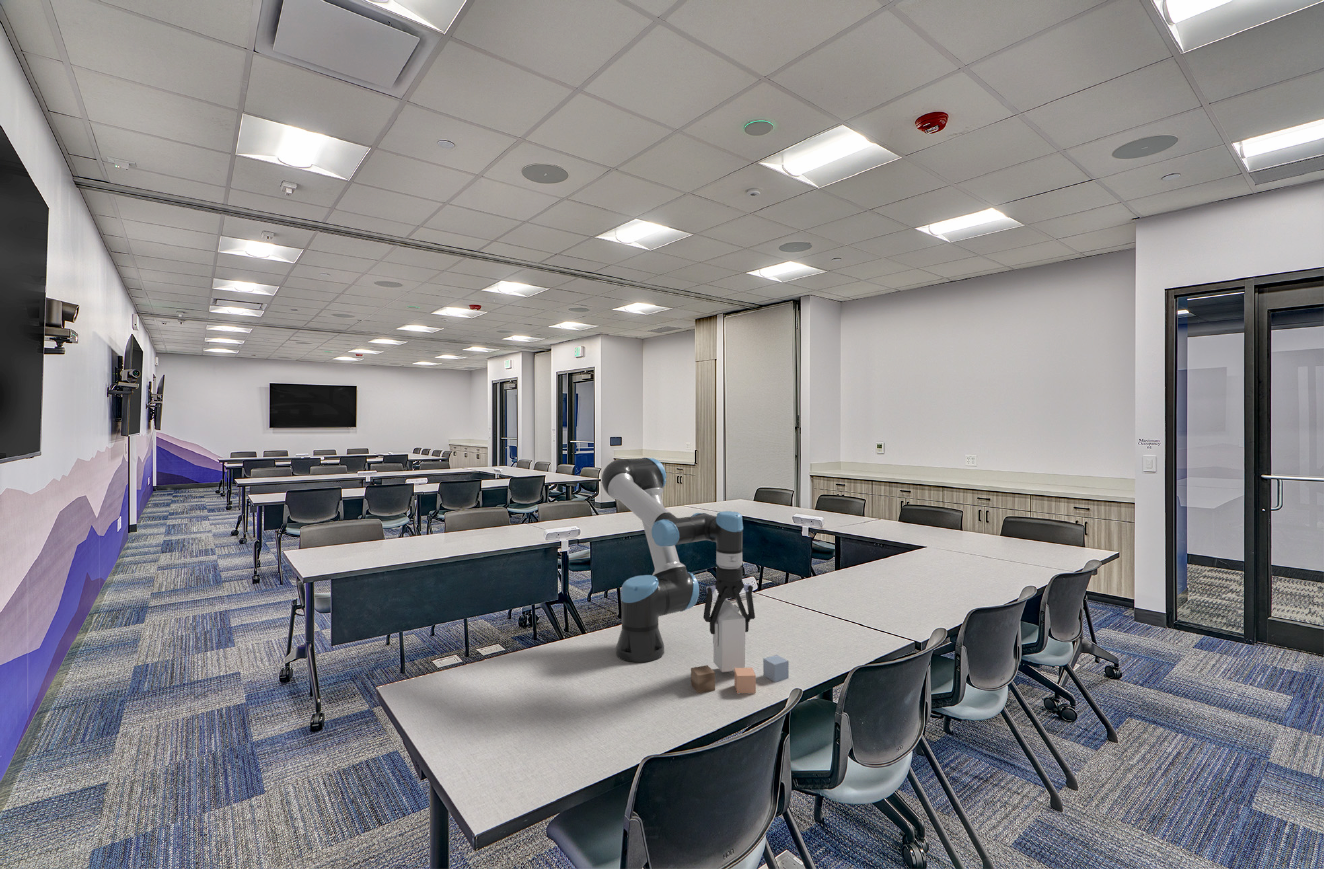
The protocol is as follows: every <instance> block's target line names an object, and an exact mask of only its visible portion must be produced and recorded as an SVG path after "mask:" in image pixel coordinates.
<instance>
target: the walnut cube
mask: <svg viewBox="0 0 1324 869" xmlns="http://www.w3.org/2000/svg"><path fill="white" fill-rule="evenodd" d="M690 686H691V687H692V688H693V690H694V691H695V692H696V693H697V694H704V693H709V692H713V691H716V672H715V671H714V670H713V669H712V668H711V667H710V666H709V664H708V665H707V664H706V665H701V666H700V665H699V666H695V667H691V668H690Z"/></svg>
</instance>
